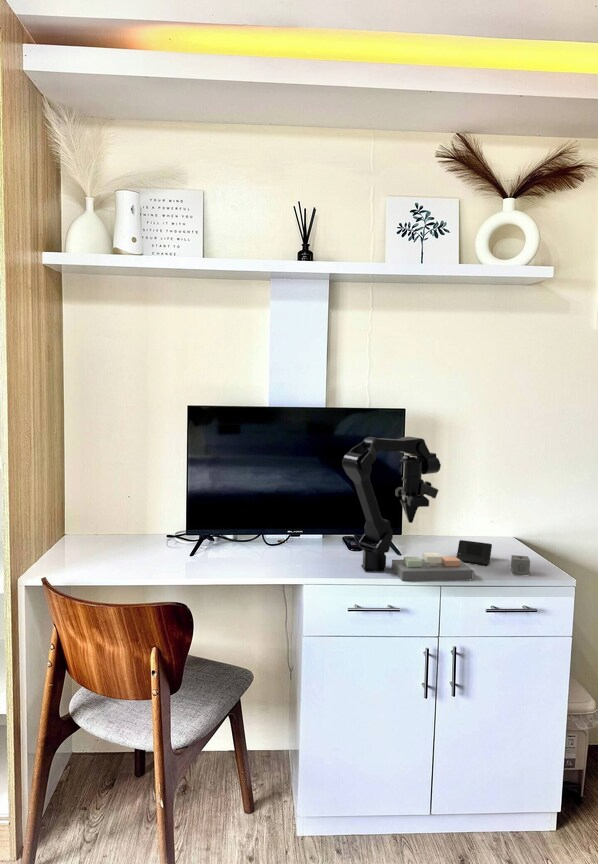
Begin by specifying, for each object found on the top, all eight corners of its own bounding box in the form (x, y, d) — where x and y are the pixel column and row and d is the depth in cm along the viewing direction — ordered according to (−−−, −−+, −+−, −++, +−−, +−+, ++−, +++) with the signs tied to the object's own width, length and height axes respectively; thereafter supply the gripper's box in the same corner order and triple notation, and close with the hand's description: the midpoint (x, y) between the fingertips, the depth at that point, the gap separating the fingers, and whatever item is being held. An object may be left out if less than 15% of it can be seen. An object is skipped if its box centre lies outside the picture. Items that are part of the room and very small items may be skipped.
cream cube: (426, 571, 213) (427, 556, 213) (421, 567, 218) (422, 552, 217) (440, 571, 214) (441, 556, 213) (436, 567, 218) (436, 552, 218)
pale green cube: (407, 576, 212) (408, 561, 212) (403, 571, 217) (403, 556, 216) (421, 576, 213) (422, 561, 213) (417, 571, 218) (418, 556, 217)
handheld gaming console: (454, 558, 228) (459, 531, 233) (452, 566, 234) (457, 540, 239) (490, 567, 225) (494, 539, 230) (487, 575, 231) (491, 547, 236)
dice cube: (526, 571, 222) (527, 556, 221) (529, 576, 217) (530, 560, 216) (510, 570, 222) (511, 555, 222) (512, 575, 218) (513, 559, 217)
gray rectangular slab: (402, 581, 208) (402, 571, 208) (391, 568, 220) (392, 559, 220) (472, 579, 211) (472, 570, 211) (458, 567, 223) (458, 558, 223)
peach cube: (445, 575, 214) (445, 560, 213) (440, 570, 219) (440, 556, 218) (459, 575, 215) (460, 560, 214) (454, 570, 219) (454, 556, 219)
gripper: (446, 480, 218) (443, 529, 220) (427, 470, 236) (425, 515, 238) (411, 480, 216) (409, 529, 218) (395, 470, 235) (393, 516, 237)
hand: (410, 522), depth 228 cm, fingers closed
